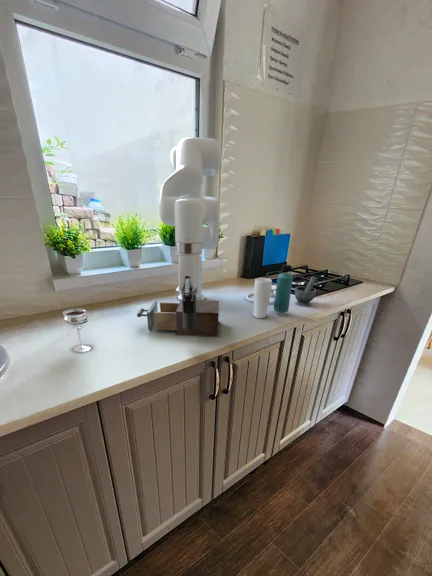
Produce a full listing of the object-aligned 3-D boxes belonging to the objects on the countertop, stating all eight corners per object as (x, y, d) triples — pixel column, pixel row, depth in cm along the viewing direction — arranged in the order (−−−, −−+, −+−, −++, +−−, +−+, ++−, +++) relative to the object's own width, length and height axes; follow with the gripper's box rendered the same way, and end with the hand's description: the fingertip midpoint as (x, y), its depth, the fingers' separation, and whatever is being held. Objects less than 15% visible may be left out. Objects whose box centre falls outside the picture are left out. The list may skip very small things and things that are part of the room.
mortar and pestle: (305, 308, 145) (310, 281, 139) (288, 303, 151) (292, 277, 145) (319, 303, 152) (324, 277, 146) (302, 299, 158) (306, 274, 152)
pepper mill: (178, 327, 104) (177, 282, 97) (188, 323, 107) (188, 280, 100) (190, 331, 101) (190, 285, 94) (200, 327, 105) (200, 282, 98)
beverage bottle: (288, 312, 140) (296, 264, 129) (286, 317, 134) (294, 267, 124) (274, 310, 141) (280, 262, 131) (271, 315, 136) (277, 265, 126)
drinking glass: (267, 319, 131) (271, 282, 123) (250, 318, 132) (254, 281, 124) (268, 314, 136) (272, 278, 128) (252, 313, 137) (255, 277, 130)
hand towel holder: (239, 290, 152) (261, 282, 166) (239, 299, 154) (261, 291, 168) (271, 297, 143) (291, 288, 157) (270, 306, 145) (290, 297, 160)
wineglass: (70, 345, 103) (61, 309, 97) (92, 343, 106) (85, 307, 100) (71, 354, 98) (62, 316, 92) (94, 351, 101) (87, 314, 94)
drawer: (135, 330, 114) (133, 311, 111) (143, 317, 126) (142, 300, 122) (186, 332, 114) (185, 313, 111) (189, 319, 126) (189, 302, 122)
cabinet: (176, 334, 114) (176, 311, 110) (181, 320, 127) (180, 299, 122) (217, 336, 114) (218, 313, 110) (218, 322, 127) (219, 300, 122)
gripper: (179, 243, 99) (180, 302, 109) (171, 252, 85) (174, 319, 94) (203, 244, 99) (202, 302, 109) (200, 253, 85) (199, 320, 94)
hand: (189, 309), depth 101 cm, fingers closed on pepper mill, 4 cm apart
